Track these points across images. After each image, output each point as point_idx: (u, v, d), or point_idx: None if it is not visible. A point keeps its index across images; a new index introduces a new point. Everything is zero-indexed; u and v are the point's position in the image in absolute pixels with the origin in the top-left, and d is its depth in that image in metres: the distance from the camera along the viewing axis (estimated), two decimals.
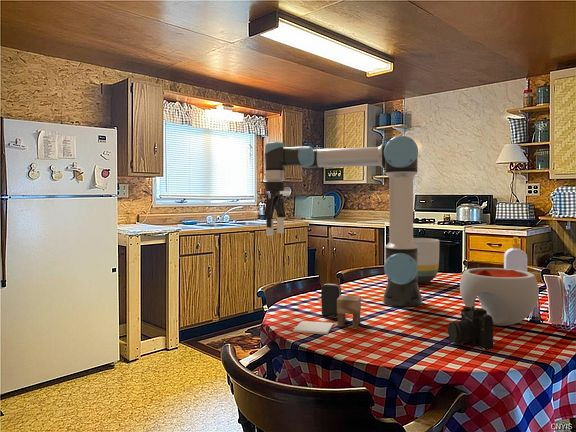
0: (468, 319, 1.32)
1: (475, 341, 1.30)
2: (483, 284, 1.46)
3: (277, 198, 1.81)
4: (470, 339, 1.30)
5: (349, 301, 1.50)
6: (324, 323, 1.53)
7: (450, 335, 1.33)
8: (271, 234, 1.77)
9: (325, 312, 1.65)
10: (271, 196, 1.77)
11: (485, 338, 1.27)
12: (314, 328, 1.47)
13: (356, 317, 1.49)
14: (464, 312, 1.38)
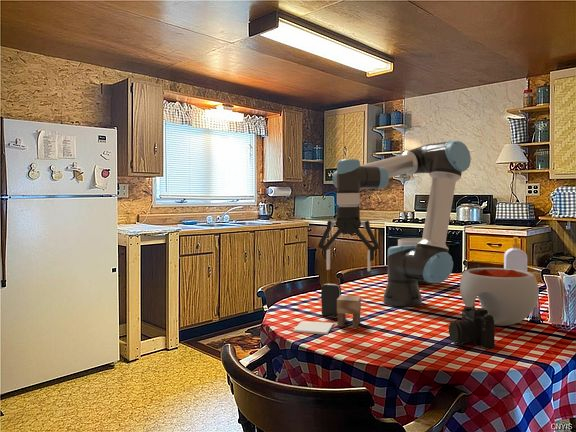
0: (469, 319, 1.33)
1: (476, 341, 1.30)
2: (483, 284, 1.46)
3: (340, 227, 1.51)
4: (471, 339, 1.30)
5: (349, 301, 1.50)
6: (324, 323, 1.53)
7: (451, 335, 1.33)
8: None
9: (325, 312, 1.65)
10: None
11: (486, 338, 1.27)
12: (314, 328, 1.47)
13: (356, 317, 1.49)
14: (465, 312, 1.38)
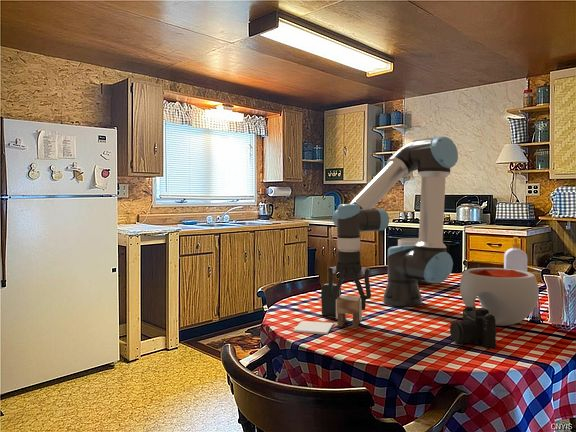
0: (470, 319, 1.33)
1: (478, 340, 1.31)
2: (483, 284, 1.46)
3: (341, 272, 1.51)
4: (473, 339, 1.30)
5: (349, 301, 1.50)
6: (324, 323, 1.53)
7: (453, 335, 1.33)
8: (336, 316, 1.54)
9: (325, 312, 1.65)
10: None
11: (487, 337, 1.28)
12: (314, 328, 1.47)
13: (356, 317, 1.49)
14: (466, 312, 1.38)
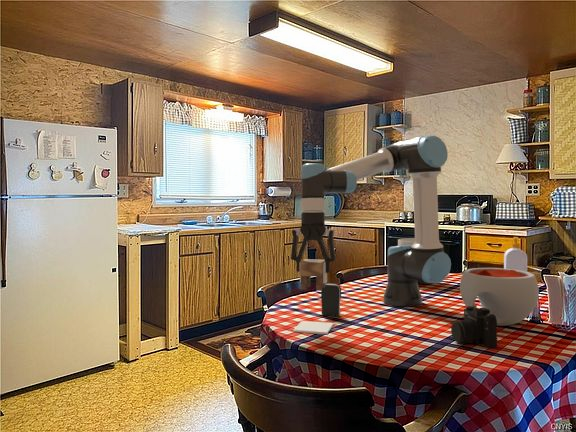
0: (472, 318, 1.33)
1: (479, 340, 1.31)
2: (483, 284, 1.46)
3: (305, 234, 1.47)
4: (474, 338, 1.30)
5: (312, 263, 1.45)
6: (324, 323, 1.53)
7: (454, 334, 1.33)
8: None
9: (325, 312, 1.65)
10: None
11: (489, 337, 1.28)
12: (314, 328, 1.47)
13: (319, 279, 1.45)
14: (467, 311, 1.39)
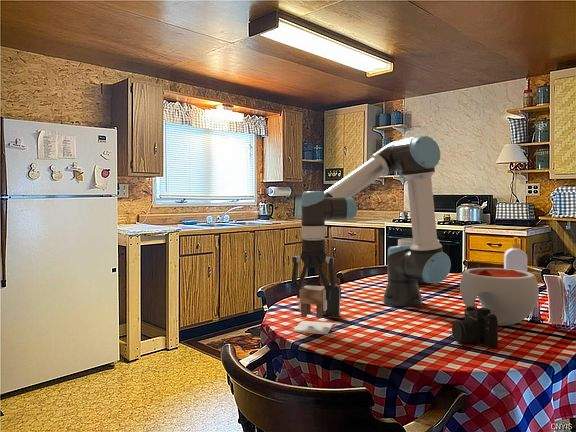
0: (472, 318, 1.33)
1: (480, 340, 1.31)
2: (483, 284, 1.46)
3: (305, 261, 1.48)
4: (475, 338, 1.30)
5: (312, 291, 1.45)
6: (324, 323, 1.53)
7: (455, 334, 1.34)
8: None
9: (325, 312, 1.65)
10: None
11: (490, 337, 1.28)
12: (314, 328, 1.47)
13: (320, 307, 1.45)
14: (467, 311, 1.39)
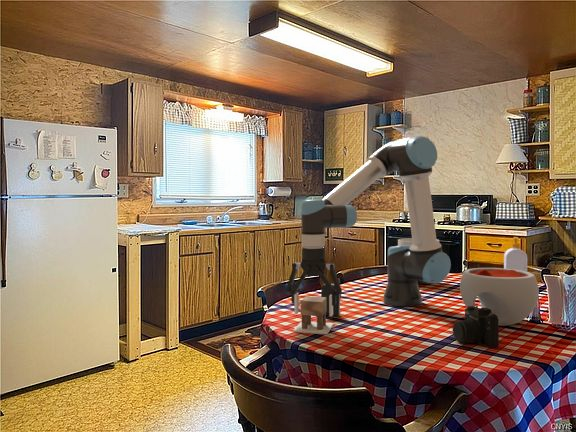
0: (473, 318, 1.33)
1: (480, 340, 1.31)
2: (483, 284, 1.46)
3: (305, 269, 1.48)
4: (476, 338, 1.31)
5: (313, 302, 1.46)
6: None
7: (455, 334, 1.34)
8: None
9: None
10: None
11: (490, 337, 1.28)
12: (314, 328, 1.47)
13: (320, 319, 1.45)
14: (468, 311, 1.39)
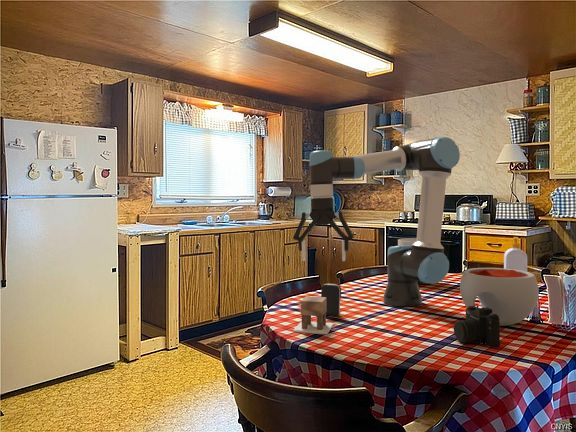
0: (474, 318, 1.33)
1: (482, 340, 1.31)
2: (483, 284, 1.46)
3: (314, 218, 1.52)
4: (477, 338, 1.31)
5: (313, 302, 1.46)
6: None
7: (457, 334, 1.34)
8: None
9: None
10: None
11: (492, 337, 1.28)
12: (314, 328, 1.47)
13: (320, 319, 1.45)
14: (469, 311, 1.39)
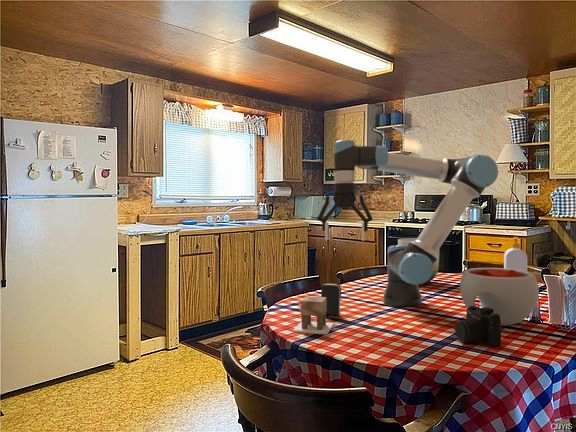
0: (475, 318, 1.34)
1: (483, 339, 1.31)
2: (483, 284, 1.46)
3: (337, 201, 1.68)
4: (478, 338, 1.31)
5: (313, 302, 1.46)
6: None
7: (458, 334, 1.34)
8: (325, 238, 1.71)
9: None
10: None
11: (493, 336, 1.29)
12: (314, 328, 1.47)
13: (320, 319, 1.45)
14: (470, 311, 1.39)
